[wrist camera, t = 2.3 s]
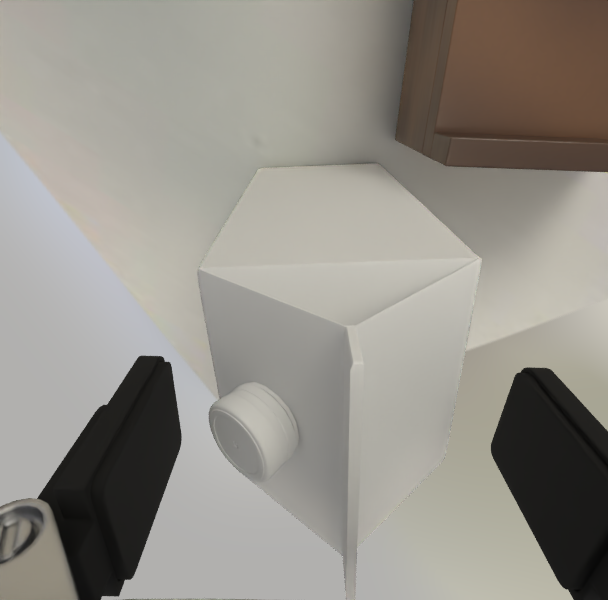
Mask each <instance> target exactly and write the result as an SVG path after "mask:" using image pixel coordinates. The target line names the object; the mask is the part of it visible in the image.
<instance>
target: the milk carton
mask: <svg viewBox="0 0 608 600" xmlns="http://www.w3.org/2000/svg"><path fill="white" fill-rule="evenodd" d="M481 261H482V259H481V258H480V257H478V256H477V255H476V254H475V253H474V252H473V251H472V250H471V249H470V248H469V247H468V246H467V245H466V244H464V243H463V242H462V241H461V240H460V239H459V238H458V237H457V236H456V235H455V234H454V233H453V232H452V231H451V230H449V229H448V228H447V227H446V226H445V225H444V224H443V223H442V222H441V221H440V220H439V219H438V218H437V217H436V216H435V215H433V214H432V213H431V212H430V211H429V210H428V209H427V208H426V207H425V206H424V205H423V204H422V203H421V202H420V201H418V200H417V199H416V198H415V197H414V196H413V195H412V194H411V193H410V192H409V191H408V190H407V189H406V188H405V187H404V186H402V185H401V184H400V183H399V182H398V181H397V180H396V179H395V178H394V177H393V176H392V175H391V174H390V173H389V172H387V171H386V170H385V169H384V168H383V167H382V166H381V165H380V164H379V163H370V164H346V165H322V166H298V167H274V168H259V169H258V170H257V172H256V173H255V175H254V177H253V178H252V180H251V182H250V183H249V185H248V186H247V188H246V190H245V191H244V193H243V195H242V196H241V198H240V200H239V201H238V203H237V204H236V206H235V208H234V209H233V211H232V213H231V214H230V216H229V217H228V219H227V221H226V222H225V224H224V226H223V227H222V229H221V230H220V232H219V234H218V235H217V237H216V239H215V240H214V242H213V243H212V245H211V247H210V248H209V250H208V252H207V253H206V255H205V257H204V259H203V260H202V262H201V264H200V266H199V268H198V282H199V288H200V294H201V300H202V306H203V312H204V317H205V323H206V328H207V334H208V339H209V344H210V349H211V355H212V360H213V366H214V371H215V376H216V382H217V387H218V393H219V398H220V399H219V400H218V401H216V402H215V403H214V404H213V405H212V406H211V408H210V411H209V423H210V427H211V431H212V434H213V436H214V439H215V441H216V443H217V445H218V447H219V448H220V450H221V452H222V453H223V454H224V456H225V457H226V458H227V459H228V461H229V462H230V463H231V464H232V465H233V466H234V467H235V468H236V469H237V470H238V471H239V472H241V473H242V474H243V475H245V476H246V477H247V478H248V479H250V480H251V481H252V482H253V483H254V484H255V485H257V486H258V487H259V488H260V489H262V490H263V491H264V492H265V493H267V494H268V495H269V496H270V497H271V498H273V499H274V500H275V501H276V502H277V503H279V504H280V505H281V506H282V507H283V508H285V509H286V510H287V511H288V512H290V513H291V514H292V515H293V516H294V517H296V518H297V519H298V520H299V521H301V522H302V523H303V524H304V525H305V526H307V527H308V528H309V529H310V530H312V531H313V532H314V533H315V534H316V535H318V536H319V537H320V538H321V539H322V540H324V541H325V542H326V543H327V544H329V545H330V546H331V547H332V548H333V549H335V550H336V551H337V552H339V553H340V554H341V555H342V556H343V565H344V578H345V590H346V600H355V587H356V563H357V548H358V547H359V546H360V545H361V544H362V543H363V542H364V541H365V539H367V538H368V537H369V536H370V534H372V532H373V531H374V530H375V529H376V528H377V527H378V526H379V525H380V524H381V523H382V522H383V521H384V520H385V519H386V518H387V517H388V516H389V515H390V514H391V513H392V512H393V511H394V510H395V509H396V508H397V507H398V506H399V505H400V504H401V503H402V502H403V501H404V500H405V499H406V498H407V497H408V496H409V495H410V494H411V493H412V492H413V491H414V490H415V489H416V488H417V487H418V486H419V485H420V484H421V483H422V482H423V481H424V480H425V479H426V478H427V477H428V476H429V475H430V474H431V473H432V472H433V471H434V470H435V469H436V468H437V467H438V465H440V463H441V462H442V461H443V460H444V458H445V455H446V450H447V446H448V440H449V435H450V430H451V424H452V419H453V413H454V409H455V403H456V398H457V393H458V387H459V382H460V377H461V371H462V366H463V361H464V355H465V350H466V345H467V339H468V334H469V329H470V323H471V318H472V313H473V307H474V302H475V297H476V291H477V286H478V280H479V275H480V269H481Z"/></svg>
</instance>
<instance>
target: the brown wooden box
mask: <svg viewBox="0 0 608 600" xmlns="http://www.w3.org/2000/svg"><path fill="white" fill-rule="evenodd" d="M395 140H396V141H398V142H400V143H402V144H404V145H406V146H408V147H410V148H412V149H414V150H416V151H418V152H420V153H422V154H423V155H425V156H427V157H429V158H431V159H433V160H435V161H437V162H439V163H441V164H443V165H445V166H455V167H482V168H509V169H535V170H562V171H588V172H608V0H414V2H413V10H412V17H411V25H410V32H409V40H408V47H407V54H406V62H405V69H404V77H403V84H402V92H401V99H400V106H399V114H398V121H397V129H396V136H395Z"/></svg>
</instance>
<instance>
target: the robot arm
mask: <svg viewBox="0 0 608 600" xmlns="http://www.w3.org/2000/svg"><path fill="white" fill-rule="evenodd" d="M180 446H181V429H180V422H179V415H178V408H177V401H176V394H175V389H174V381H173V374H172V367H171V364H170V362H165V361H164V358H163V357H161V356H139V357H138V359H137V360H136V362H135V363H134V365H133V367H132V368H131V369H130V371H129V372H128V374H127V375H126V377H125V379H124V380H123V382H122V383H121V385H120V386H119V388H118V389H117V391H116V392H115V394H114V395H113V397H112V398H111V400H110V401H109V403H108V404H107V405H103V406H101V407H99V409H98V410H97V411H96V412H95V414H94V415H93V417H92V418H91V420H90V421H89V423H88V424H87V426H86V427H85V429H84V430H83V431H82V433H81V434H80V436H79V437H78V439H77V440H76V442H75V443H74V445H73V446H72V448H71V449H70V451H69V452H68V454H67V455H66V457H65V458H64V460H63V461H62V463H61V464H60V465H59V467H58V468H57V470H56V471H55V473H54V474H53V476H52V477H51V479H50V480H49V482H48V483H47V485H46V486H45V488H44V489H43V491H42V492H41V494H40V495H39V497H38V498H37V499H32V498H28V499H21V500H16V501H13V502H11V503H8V504H5V505H3V506H1V507H0V600H101V597H102V596H119V594H120V592H121V589H122V586H123V584H124V581H125V580H127V579H128V580H130V579H132V577H133V576H134V574H135V571H136V569H137V566H138V563H139V560H140V557H141V555H142V552H143V550H144V547H145V544H146V541H147V538H148V536H149V533H150V530H151V527H152V524H153V522H154V519H155V516H156V513H157V511H158V508H159V505H160V502H161V500H162V497H163V494H164V491H165V489H166V486H167V483H168V480H169V477H170V475H171V472H172V469H173V466H174V463H175V461H176V458H177V455H178V452H179V450H180ZM491 453H492V456H493V459H494V461H495V462H496V464H497V466H498V468H499V470H500V472H501V474H502V475H503V478H504V479H505V481H506V483H507V485H508V487H509V489H510V490H511V493H512V495H513V496H514V498H515V500H516V502H517V504H518V506H519V508H520V510H521V512H522V513H523V515H524V517H525V519H526V521H527V523H528V525H529V527H530V529H531V530H532V532H533V534H534V536H535V538H536V540H537V542H538V544H539V546H540V547H541V549H542V551H543V553H544V555H545V557H546V559H547V561H548V563H549V564H550V566H551V568H552V570H553V572H554V574H555V576H556V578H557V580H558V581H559V583H560V584H561V585H562V587H563V588H565V589H568V590H569V592H570V594H571V595H572V597H573V599H574V600H608V431H607V430H606V429H605V428H604V427H603V426H602V425H601V424H600V422H599V421H598V420H596V418H595V417H594V416H593V415H592V414H591V413H590V412H589V411H588V409H587V408H586V407H585V406H584V405H583V404H582V403H581V402H580V401H579V400H578V399H577V397H576V396H575V395H574V394H573V393H572V392H571V391H570V390H569V389H568V388H567V387H566V385H565V384H564V383H563V382H562V381H561V380H560V379H559V378H558V377H557V376H556V375H555V374H554V372H553V371H551V370H550V369H547V368H524V369H523V370H522V371H521V373H517V374H516V375H515V377H514V380H513V384H512V386H511V389H510V392H509V395H508V397H507V400H506V403H505V406H504V409H503V412H502V415H501V417H500V421H499V423H498V426H497V429H496V432H495V434H494V437H493V440H492V443H491ZM126 600H250V599H126ZM251 600H254V599H251Z"/></svg>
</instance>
